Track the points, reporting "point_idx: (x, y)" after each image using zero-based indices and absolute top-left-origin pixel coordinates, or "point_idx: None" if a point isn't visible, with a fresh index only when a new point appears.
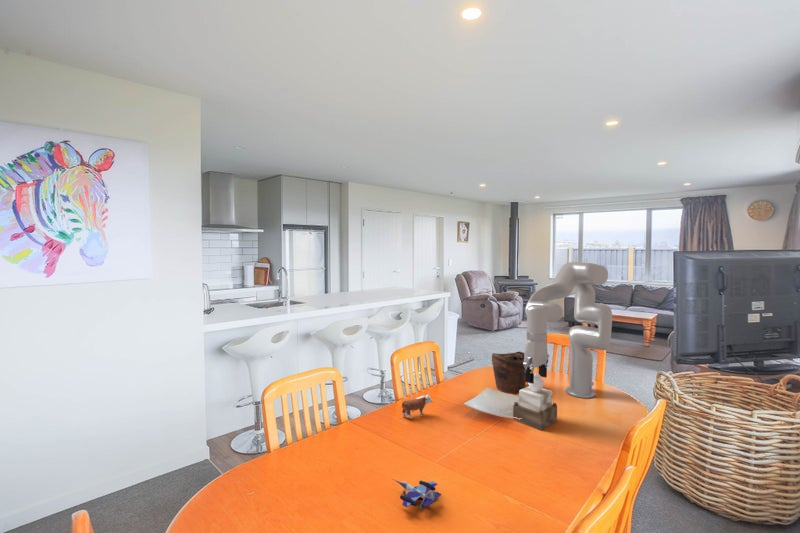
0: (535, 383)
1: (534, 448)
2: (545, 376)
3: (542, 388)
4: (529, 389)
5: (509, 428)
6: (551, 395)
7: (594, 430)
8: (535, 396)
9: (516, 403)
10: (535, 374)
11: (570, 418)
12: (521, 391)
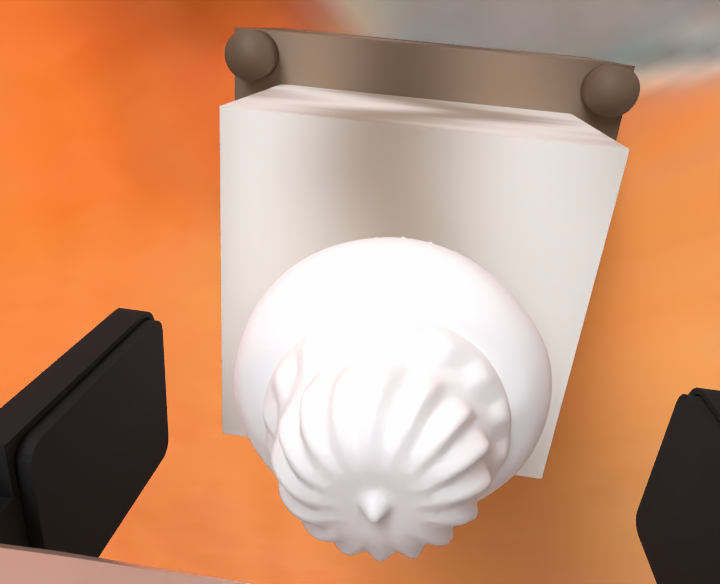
0: (250, 439)
1: (17, 356)
2: (641, 537)
3: (565, 353)
4: (386, 219)
5: (110, 91)
6: None
7: (535, 549)
8: (225, 368)
9: (233, 72)
10: (333, 506)
11: (651, 394)
12: (221, 152)
